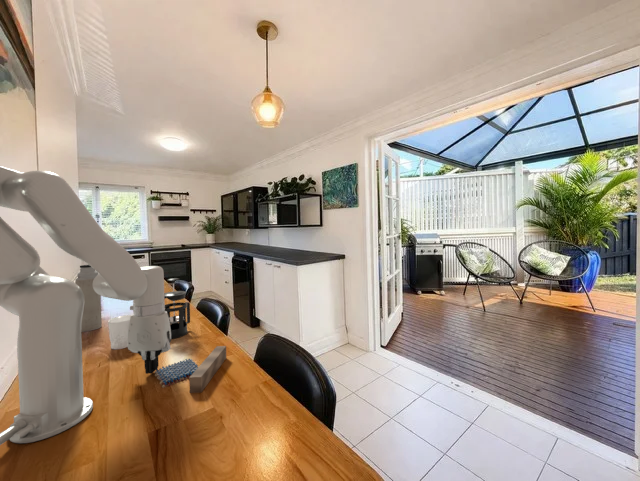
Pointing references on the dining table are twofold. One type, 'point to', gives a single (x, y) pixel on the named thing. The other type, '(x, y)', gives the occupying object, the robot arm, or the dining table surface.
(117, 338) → the white cup
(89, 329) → the thermos bottle
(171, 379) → the woven mat
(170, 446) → the dining table surface
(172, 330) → the french press
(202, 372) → the bar
